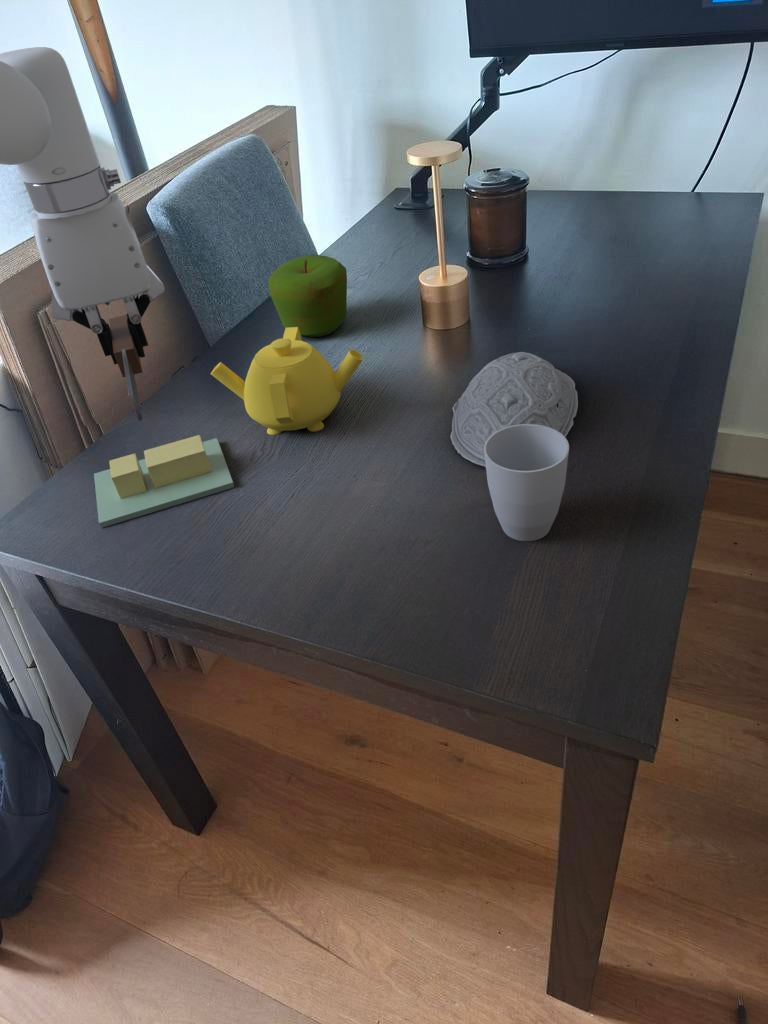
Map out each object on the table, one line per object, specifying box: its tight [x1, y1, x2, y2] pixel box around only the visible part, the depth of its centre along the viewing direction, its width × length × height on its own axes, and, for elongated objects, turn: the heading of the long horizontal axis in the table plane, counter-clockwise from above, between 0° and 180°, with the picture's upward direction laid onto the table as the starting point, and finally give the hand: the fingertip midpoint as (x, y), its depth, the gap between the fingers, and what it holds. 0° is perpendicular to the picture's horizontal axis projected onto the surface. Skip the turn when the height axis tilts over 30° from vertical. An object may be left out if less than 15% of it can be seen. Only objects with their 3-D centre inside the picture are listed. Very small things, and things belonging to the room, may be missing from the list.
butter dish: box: [93, 437, 235, 529], centre depth 94 cm, size 16×11×1 cm
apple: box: [268, 254, 348, 338], centre depth 119 cm, size 12×12×11 cm
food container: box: [449, 351, 579, 468], centre depth 95 cm, size 16×25×7 cm, turn 163°
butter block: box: [143, 434, 211, 488], centre depth 93 cm, size 7×4×3 cm, turn 110°
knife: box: [108, 314, 143, 422], centre depth 83 cm, size 21×2×3 cm, turn 19°
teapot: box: [210, 327, 365, 436], centre depth 99 cm, size 20×18×11 cm
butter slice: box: [108, 453, 147, 499], centre depth 92 cm, size 3×4×3 cm
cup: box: [484, 424, 570, 542], centre depth 76 cm, size 8×8×10 cm
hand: (128, 354), depth 88 cm, fingers closed on knife, 2 cm apart
